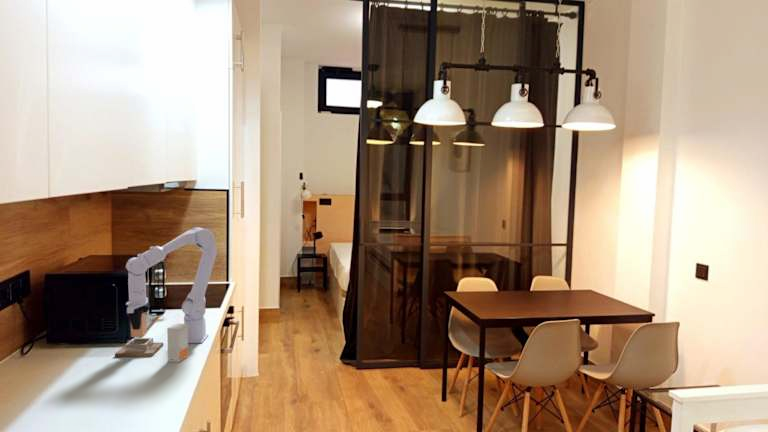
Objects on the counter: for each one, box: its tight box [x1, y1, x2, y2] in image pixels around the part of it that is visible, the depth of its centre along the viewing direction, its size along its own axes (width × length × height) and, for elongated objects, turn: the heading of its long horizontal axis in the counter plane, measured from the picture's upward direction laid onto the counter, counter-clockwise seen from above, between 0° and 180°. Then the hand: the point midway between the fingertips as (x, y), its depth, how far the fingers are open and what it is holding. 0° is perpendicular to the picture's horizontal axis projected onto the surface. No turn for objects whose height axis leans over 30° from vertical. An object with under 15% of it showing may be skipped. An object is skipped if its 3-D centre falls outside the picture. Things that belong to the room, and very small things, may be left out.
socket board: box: [114, 337, 164, 358], centre depth 188 cm, size 11×13×4 cm
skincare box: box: [166, 322, 189, 363], centre depth 180 cm, size 6×4×12 cm
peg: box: [129, 312, 148, 338], centre depth 187 cm, size 4×4×8 cm
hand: (138, 327), depth 187 cm, fingers closed on peg, 4 cm apart
